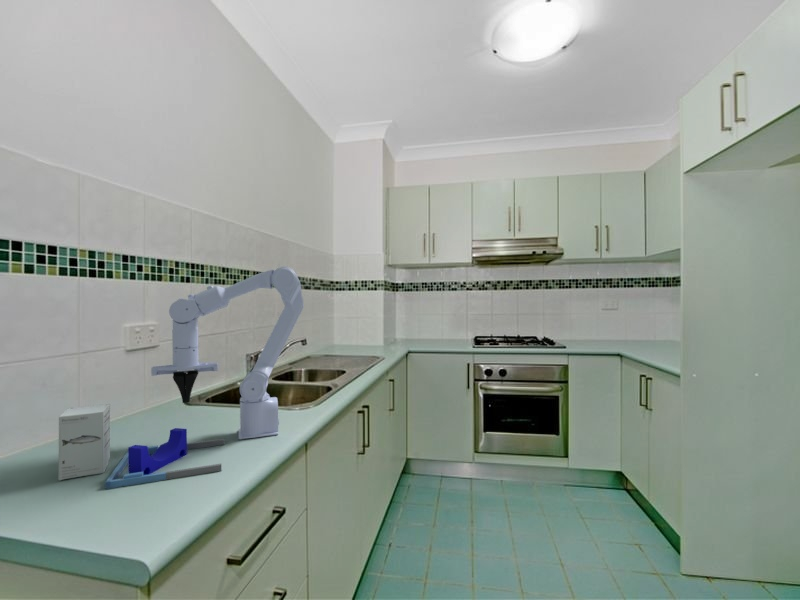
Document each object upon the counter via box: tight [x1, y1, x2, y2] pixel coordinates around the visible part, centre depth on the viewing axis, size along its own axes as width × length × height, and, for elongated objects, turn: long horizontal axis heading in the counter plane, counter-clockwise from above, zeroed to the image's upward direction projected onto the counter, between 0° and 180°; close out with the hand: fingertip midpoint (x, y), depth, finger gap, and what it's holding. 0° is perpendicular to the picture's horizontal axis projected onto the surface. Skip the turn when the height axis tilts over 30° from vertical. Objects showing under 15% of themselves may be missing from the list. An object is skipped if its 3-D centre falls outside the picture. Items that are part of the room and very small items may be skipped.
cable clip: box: [127, 427, 188, 475], centre depth 84 cm, size 12×4×6 cm, turn 167°
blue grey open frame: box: [104, 438, 225, 490], centre depth 84 cm, size 20×17×2 cm
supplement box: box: [58, 403, 111, 481], centre depth 81 cm, size 7×7×13 cm
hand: (186, 401), depth 99 cm, fingers closed
